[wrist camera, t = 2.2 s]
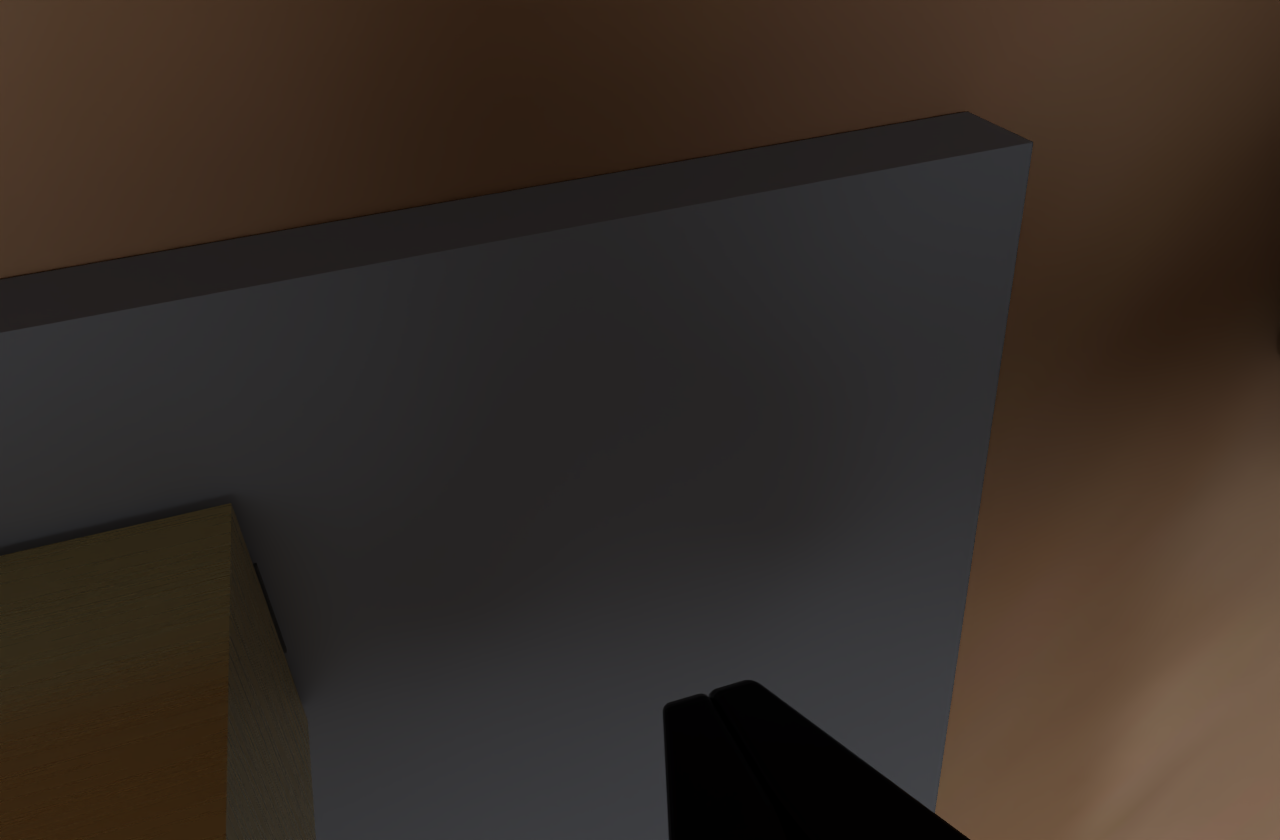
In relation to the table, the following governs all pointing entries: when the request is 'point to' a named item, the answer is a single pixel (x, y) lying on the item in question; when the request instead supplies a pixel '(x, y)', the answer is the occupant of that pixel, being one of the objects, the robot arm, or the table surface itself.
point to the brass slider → (148, 691)
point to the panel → (562, 460)
